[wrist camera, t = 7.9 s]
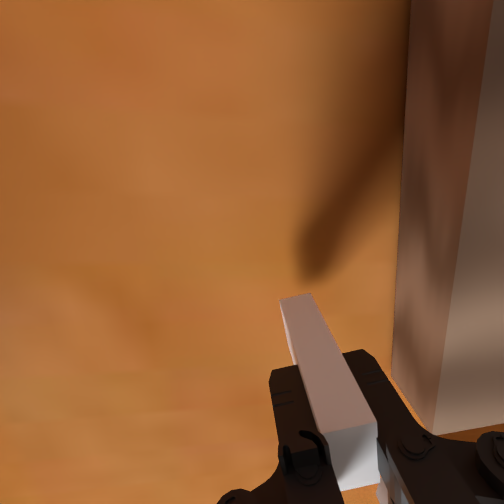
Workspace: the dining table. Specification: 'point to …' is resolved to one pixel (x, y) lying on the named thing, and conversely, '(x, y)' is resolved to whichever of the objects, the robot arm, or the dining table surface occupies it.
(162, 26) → the dining table surface
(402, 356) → the folding leg
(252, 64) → the dining table surface
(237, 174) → the dining table surface
